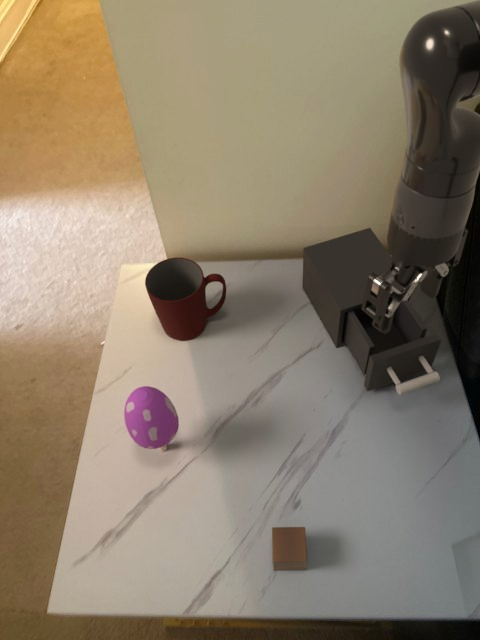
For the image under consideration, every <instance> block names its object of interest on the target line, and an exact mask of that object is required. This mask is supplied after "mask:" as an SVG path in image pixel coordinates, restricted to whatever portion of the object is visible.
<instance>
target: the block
mask: <svg viewBox="0 0 480 640" xmlns="http://www.w3.org/2000/svg"><path fill="white" fill-rule="evenodd" d="M271 537H272V539H271V540H272V541H271V543H272V544H271V545H272V566H273V571H306V570H307V566H308V554H307V535H306V527H305V526H279V527H277V526H276V527H275V526H274V527H273V526H272V527H271Z"/></svg>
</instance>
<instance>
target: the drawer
mask: <svg viewBox="0 0 480 640" xmlns="http://www.w3.org/2000/svg"><path fill="white" fill-rule="evenodd" d="M392 301H393V298H392V297H390V298H389V300H388V305H390V304H391V302H392ZM372 322H373V318H371V317H370V316H369V315H368V314H366V313H365V312H364V311H363V310H362V307H359V308H356V309H353V310H350V311H347V312H345V316H344V324H343V332H342V338H343V339H344V341H345V343H346V345H345V346H346V347H347V348H348V350H349V352H350V353H351V355H352V358H354V360H355V362H356V364H357V366H358V368H359V369H360V371H361V373H362V375H363V376H365V377H364V383H363V386H364V388H365V390H366V391H367V392H370V391H373V390H376V389H378V388H381V387H384V386H387V385H390V384H393V383H394V384H395V390H396V392H397V394H398V395H399V396H401V395H404V394H407V393H410V392H412V391H413V392H414V390H418V389H420V388H424V387H426V386H430V385H432V384H435V383H438V382H440V381H441V377H440V374H439V373H438V371H434V370H433V368H432V367H433V364H434V361H435V359H436V356H437V353H438V350H439V348H440V345H441V343H442V337H441V335H439V333H438V332H436V333H433V334H430V335H427V336H426V334H427V331H428V326H427V325H426V324H425V322H424V321H423V319H422V317H420V315H419V313H418V312H417V311H416V309H415V308H414V306H413V305H412V304H411V303H410V300H409V301H408V300H407V301H405V302H401V303H400V304H399V306H398V307H397V309H396V310H395V312H394V317H393V321H392V326H391V330H390V331H389V332H388V333H386V334H384V333H383V332H380V331H379V330H378V329H376V328H375V327H374V326H373V325H372ZM424 372H427V373H426V374H423V375H421V376H418V377H415V378H413V379H409V380H406V381H404V382H401V380H404V379H407V378H409V377H413V376H416V375H418V374H422V373H424Z"/></svg>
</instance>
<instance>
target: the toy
mask: <svg viewBox="0 0 480 640" xmlns="http://www.w3.org/2000/svg"><path fill="white" fill-rule="evenodd" d="M123 417H124V424H125V427H126V429H127V432H128V434H129V436H130V438H131V439H132V440H133V442H134V443H135V444H136V445H137V446H139V447H141V448H143V449H148V450H156V449H159V451H160V452H166V451H167V450H168V444H169V443H171V442H172V441H173V440H174V439H175V437H176V435H177V433H178V431H179V426H180V424H179V421H180V420H179V416H178V413H177V409H176V407H175V405H174V404H173V402H172V401H171V399H170V398H169V396H168V395H167V394H165V393H164V392H163V391H161V389H158V388H157V387H153V386H148V385H144V386H139V387H137V388H135V389H134V390H133V391H132V392H131V393H129V395H128V397H127V398H126V400H125V404H124V410H123Z"/></svg>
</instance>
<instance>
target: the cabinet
mask: <svg viewBox="0 0 480 640" xmlns="http://www.w3.org/2000/svg"><path fill="white" fill-rule="evenodd" d="M302 249H303V251H302V255H303V256H302V286H301V287H302V289H303V291H304V293H305V295H306V296H307V298H308V300H309V303H310V304H311V306H312V307H313V309H314V311H315V313H316V314H317V317H318V318H319V320H320V321H321V324H322V325H323V327H324V328H325V331H326V332H327V334H328V336H329V338H330V340H331V341H332V343H333V345H334V347H335V348H336V349H338V348H341V347H344V346H347V345H346V343H345V341H344V339H343V338H342V332H343V324H344V316H345V312H347V311H350V310H353V309H356V308H359V307H362V304H363V299H364V294H365V289H366V285H367V280H368V277H369V276H370V274H371V273H373V272H375V273H376V274H378V275H379V276H381V275H382V274H384V273H385V272H387V268H388V265H389V264H390V262H391V259H392V255H391V253H389V252H388V250H387V249H386V247H385V246H384V245H383V244H382V242H381V241H380V239H379V238H378V237H377V235H376V233H375V232H374V231H373V230H372V228H371V227H367V228H364V229H360V230H357V231H354V232H351V233H348V234H344V235H341V236H338V237H334V238H332V239H328V240H325V241H321V242H318V243H315V244H311V245H309V246H305V247H303V248H302ZM391 285H392V286H393V287H394V288H396V289H397V290H399V291H400V292H401V293H402V292H403V291H404V289H405V288H404V287H403V286H401V285H400V284H398V283H397V282H396V281H395V280H394V281H393V282H392V283H391ZM411 295H412V294H411ZM411 295H410V297H409V298H408V301H409V302H410V300H411ZM390 297H391V296H389V298H390Z"/></svg>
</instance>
